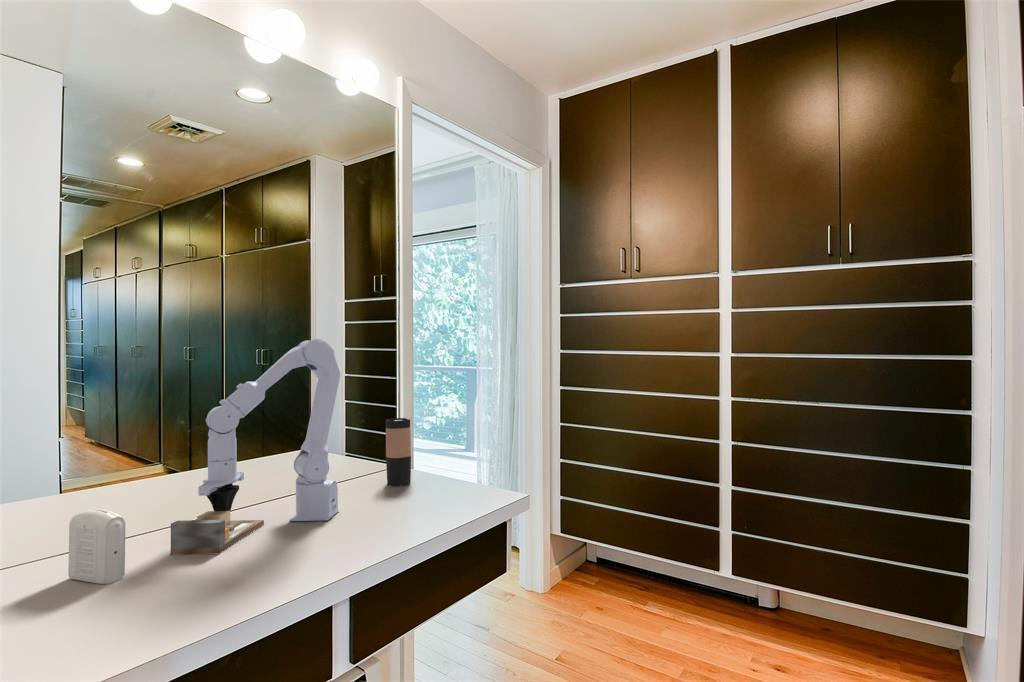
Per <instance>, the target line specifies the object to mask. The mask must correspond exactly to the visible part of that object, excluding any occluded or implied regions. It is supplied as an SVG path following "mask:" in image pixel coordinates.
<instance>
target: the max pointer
mask: <svg viewBox="0 0 1024 682" xmlns="http://www.w3.org/2000/svg"><path fill="white" fill-rule="evenodd" d="M228 537H229V528H225V539H227V538H228Z"/></svg>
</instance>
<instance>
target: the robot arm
mask: <svg viewBox="0 0 1024 682" xmlns="http://www.w3.org/2000/svg"><path fill="white" fill-rule="evenodd" d="M300 367H307V368H308V369H310V371H311V372H312V373H313V374H314V375H315V377H316V378H317V383H316V386H315V387H316V389H315V391H314V397H313V401H312V407H311V411H310V417H309V421H308V425H307V431H306V436H305V439H304V441H303V443H302V444H301V447H300V450H299V453H298V455H296V457H295V459H294V461H293V469H294V471H295V473H296V474H298V475H297V477H296V479H295V515H293V516H292V517H290V518H289V519H288V521H289V522H307V521H309V522H310V521H311V522H315V521H316V522H317V521H328V520H330V519H331V518H333V516H335V515H337V513H338V512H340V510H339V507H338V506H339V504H338V503H339V502H338V498H339V497H338V494H339V493H338V490H339V489H338V483H337V481H336V480H330V479H327V478H328V477H327V475H328V474H329V470H330V463H329V459H328V457H329V448H328V444H327V443H328V439H329V438H328V437H329V434H330V429H331V428H330V427H331V423H332V418H333V413H334V408H335V403H336V397H337V392H338V389H339V384H340V378H341V372H340V368H339V366H338V363H337V360H336V357H335V350H334V349H333V348H332V346H331V345H330V344H328V343H327V342H326V340H324V339H320V338H314V339H311V340H310V339H309V340H308V339H307V340H303V341H301V342H299V344H298V345H296V346H295V347H293V348H291V349H290V350H288V351H287V352H286V353H284V355H282V356H281V357H280V358H279V359H278V360H277V361H276V362H275V363H274V364H273V365H271V366H270V367H269V368H268V369H267V370H266V371H265V372H264V373H262V375H261V376H259V378H258V379H256V380H255V381H246V382H244V383H239V384H238V385H236V387H235V388H236V389H235V390H234V391H233V393H231V394H230V395H229V396H228V397H226V399H224V398H223V399H221V400H220V401H218V402H219V404H220V405H219V406H215V407H213V408H212V409H211V410H210V411H208V413H207V416H206V418H205V423H206V425H207V427H208V428H209V429H208V433H207V436H208V440H207V478H204V479H203V481H202V484H201V485H200V486H198V491H197V492H198V496H199V497H202V496H204V497H205V496H206V498H207V500H209V502H210V504H211V506H212V510H213V511H230V512H231V510H232V506H233V502H234V499H235V498H236V496H237V493H238V491H239V490H240V485H239V484H238V485H237V484H234V483H237V482H239V481H240V482H241V481H244V480H245V477H244V475H245V471H238V469H237V468H238V467H237V466H238V465H237V464H238V462H237V461H238V459H237V453H238V452H237V451H238V450H237V437H236V435H237V433H236V428H237V427H238V425H239V423H240V419H244V418H245V417H246V416H247V415H248V414H249V413H251V411H253V410H254V408H256V407H257V406H258V405H259V404H261V403H262V402H263V401H264V400H265V398H266V391H268V390H269V388H271V387H272V386H274V384H276V383H277V382H278V381H280V380H281V379H282V378H283V377H284V376H285V375H287V374H288V373H289V372H290V371H291V370H293V369H296V368H300ZM233 484H234V485H233Z"/></svg>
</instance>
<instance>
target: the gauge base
mask: <svg viewBox="0 0 1024 682" xmlns="http://www.w3.org/2000/svg"><path fill="white" fill-rule="evenodd" d="M230 525H234V530H233V531H232V532H229V537H228V538H227V539H225V520H197V519H195V520H194V519H193V520H192V519H191V520H185V519H184V520H175V521H173V522H172V523H170V555H171V554H179V555H211V554H210V553H220V554H221V552H222V551H223V552H225V551H226V550H228V549H229V548H231V547H232V546H234V545H235V544H237V543H239V542H240V541H242V540H243V539H245V538H246V537H248V536H250V535H251V534H252V533H254V532H255V531H254V530H256V529H257V530H258V528H259V527H260V528H262V527H263V526H264V525H265V519H250V520H249V519H247V520H246V519H245V520H243V519H242V520H230ZM262 525H263V526H262ZM261 526H262V527H261ZM260 528H259V529H260ZM257 530H256V531H257ZM253 531H254V532H253ZM251 532H252V533H251ZM250 533H251V534H250ZM247 535H248V536H247ZM244 537H245V538H244ZM242 538H243V539H242ZM241 539H242V540H241ZM239 540H240V541H239ZM238 541H239V542H238ZM236 542H237V543H236ZM234 543H235V544H234ZM233 544H234V545H233ZM231 545H232V546H231ZM230 546H231V547H230ZM228 547H229V548H228ZM227 548H228V549H227ZM225 549H226V550H225ZM224 550H225V551H224ZM223 552H222V553H223Z"/></svg>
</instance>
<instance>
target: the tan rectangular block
mask: <svg viewBox="0 0 1024 682" xmlns="http://www.w3.org/2000/svg"><path fill="white" fill-rule="evenodd" d="M196 520H225V528H229V532H232V531H233V530H234V525H230V521H231V511H214V510H213V511H212V510H208V511H206V512H204V513H202V514H199V515H197V516H196Z"/></svg>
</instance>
